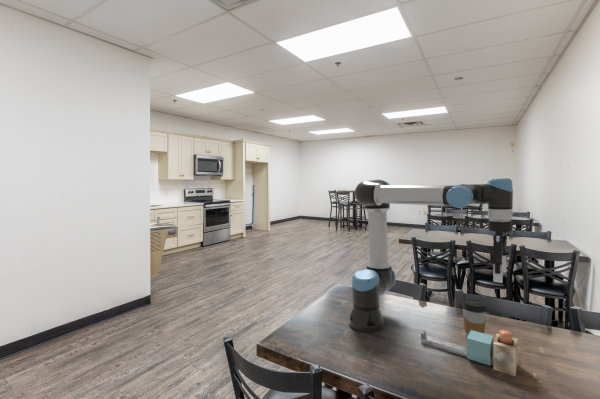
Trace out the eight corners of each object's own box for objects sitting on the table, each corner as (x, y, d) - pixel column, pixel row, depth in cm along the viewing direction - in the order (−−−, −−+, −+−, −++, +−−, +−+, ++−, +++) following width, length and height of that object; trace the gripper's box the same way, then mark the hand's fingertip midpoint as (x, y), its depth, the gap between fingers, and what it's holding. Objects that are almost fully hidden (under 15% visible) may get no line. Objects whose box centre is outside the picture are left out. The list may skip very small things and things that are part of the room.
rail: (421, 342, 118) (421, 333, 118) (423, 339, 121) (423, 330, 120) (499, 367, 102) (499, 355, 101) (500, 363, 104) (500, 351, 104)
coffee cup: (490, 345, 114) (490, 307, 114) (466, 344, 116) (466, 306, 115) (481, 334, 123) (481, 298, 122) (459, 333, 124) (459, 298, 123)
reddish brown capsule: (498, 341, 101) (498, 333, 101) (500, 337, 104) (500, 328, 104) (511, 345, 99) (511, 336, 98) (512, 340, 101) (512, 331, 101)
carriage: (467, 359, 106) (466, 338, 106) (471, 350, 112) (470, 330, 111) (490, 366, 102) (490, 344, 101) (493, 356, 107) (493, 335, 107)
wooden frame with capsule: (493, 370, 100) (493, 344, 100) (496, 358, 107) (496, 333, 106) (515, 377, 97) (515, 350, 96) (517, 364, 103) (517, 338, 102)
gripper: (509, 225, 98) (509, 288, 100) (515, 216, 118) (515, 269, 119) (482, 224, 103) (483, 284, 104) (492, 215, 122) (492, 266, 124)
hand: (500, 276), depth 112 cm, fingers open, 13 cm apart
